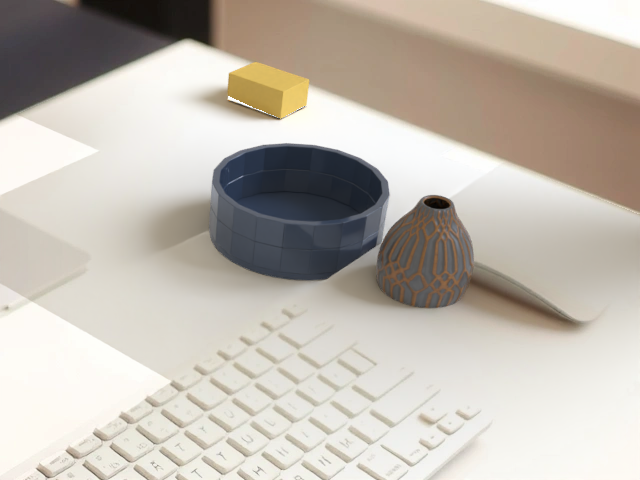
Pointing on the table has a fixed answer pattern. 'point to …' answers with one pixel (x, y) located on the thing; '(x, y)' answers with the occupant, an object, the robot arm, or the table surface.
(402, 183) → the table surface
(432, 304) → the vase
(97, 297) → the table surface
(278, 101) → the yellow block
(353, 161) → the bowl
